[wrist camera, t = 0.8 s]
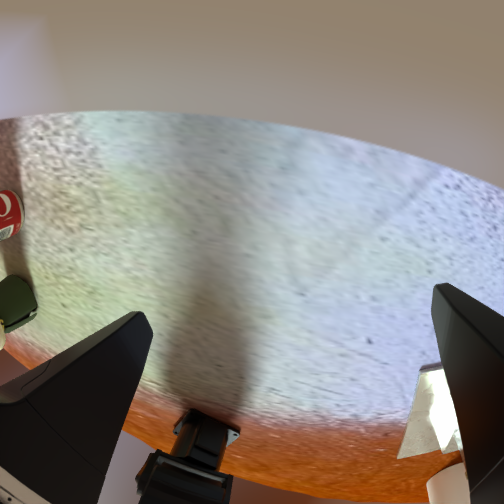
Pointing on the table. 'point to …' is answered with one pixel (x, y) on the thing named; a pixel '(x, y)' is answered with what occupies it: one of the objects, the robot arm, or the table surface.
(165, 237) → the table surface
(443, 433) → the stacked slab tower
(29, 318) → the character mug
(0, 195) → the soda can
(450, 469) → the cup
